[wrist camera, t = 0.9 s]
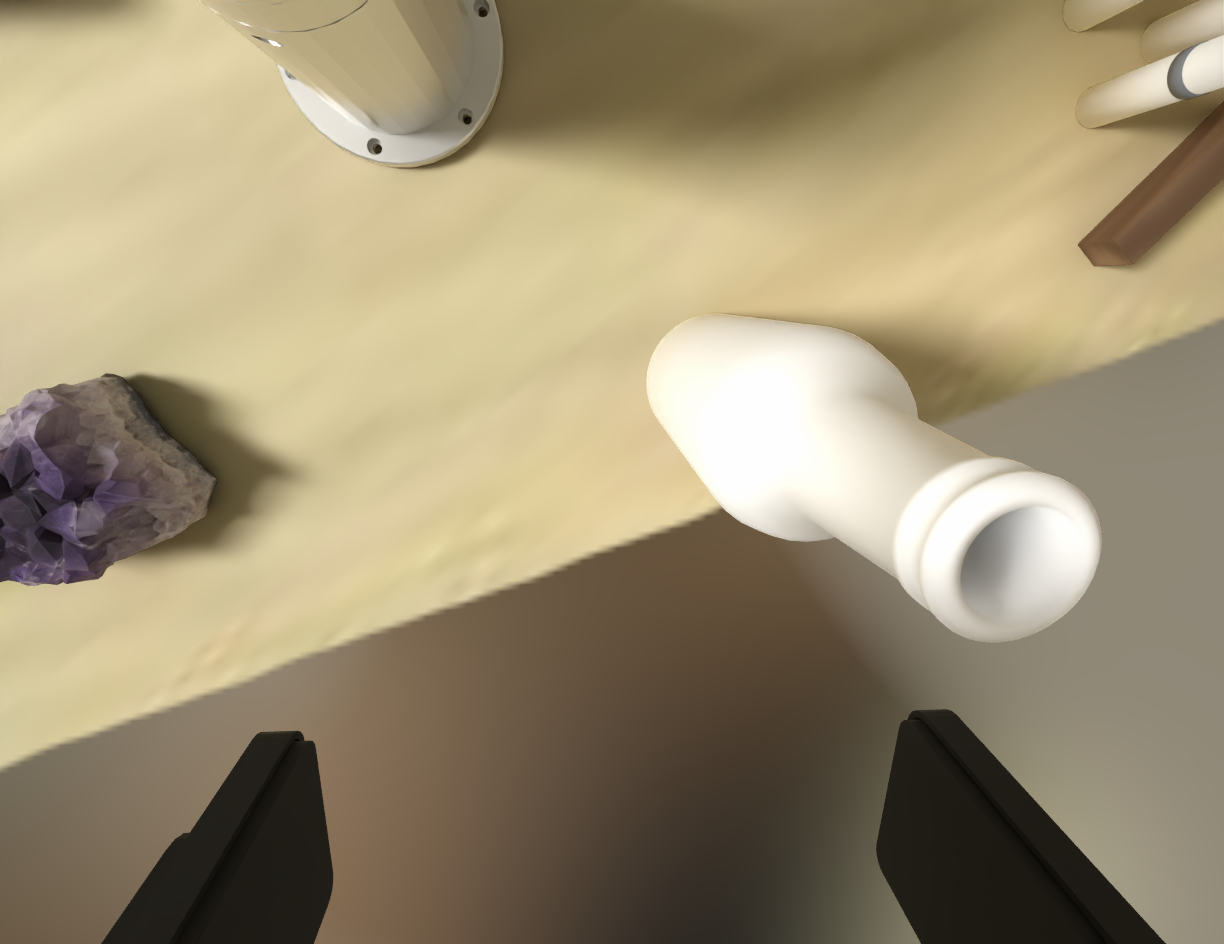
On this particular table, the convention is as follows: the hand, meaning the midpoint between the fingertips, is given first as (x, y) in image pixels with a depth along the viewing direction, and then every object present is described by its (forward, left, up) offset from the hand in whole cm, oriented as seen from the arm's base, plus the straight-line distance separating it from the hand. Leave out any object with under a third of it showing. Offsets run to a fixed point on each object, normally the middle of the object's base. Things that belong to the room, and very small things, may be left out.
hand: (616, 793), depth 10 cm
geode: (-22, -26, -34) cm, 48 cm away
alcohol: (+5, +8, -34) cm, 35 cm away
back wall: (+18, +39, -33) cm, 54 cm away
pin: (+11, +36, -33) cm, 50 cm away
